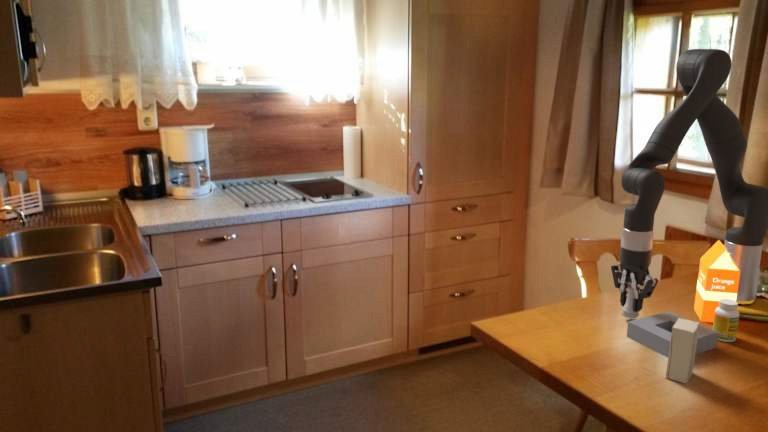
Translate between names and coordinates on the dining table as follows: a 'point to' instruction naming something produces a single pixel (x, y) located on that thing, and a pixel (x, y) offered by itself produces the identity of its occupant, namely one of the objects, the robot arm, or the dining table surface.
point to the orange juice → (715, 281)
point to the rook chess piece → (629, 304)
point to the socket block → (666, 333)
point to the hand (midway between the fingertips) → (630, 307)
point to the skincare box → (682, 350)
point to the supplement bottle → (726, 320)
